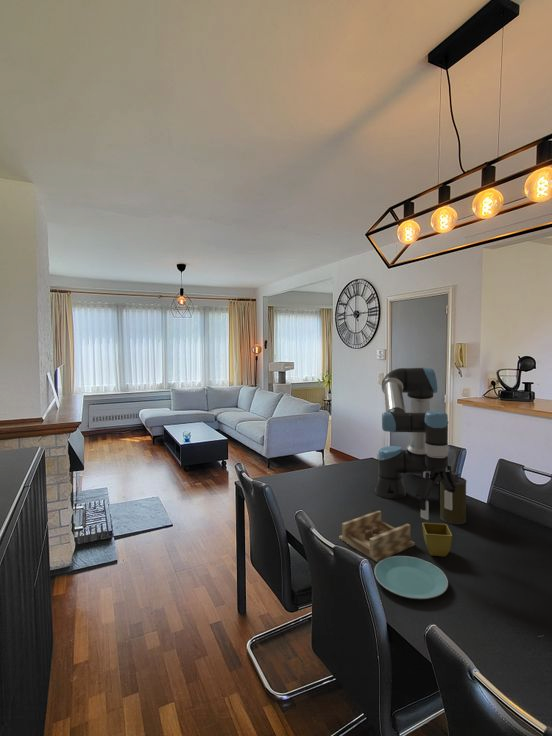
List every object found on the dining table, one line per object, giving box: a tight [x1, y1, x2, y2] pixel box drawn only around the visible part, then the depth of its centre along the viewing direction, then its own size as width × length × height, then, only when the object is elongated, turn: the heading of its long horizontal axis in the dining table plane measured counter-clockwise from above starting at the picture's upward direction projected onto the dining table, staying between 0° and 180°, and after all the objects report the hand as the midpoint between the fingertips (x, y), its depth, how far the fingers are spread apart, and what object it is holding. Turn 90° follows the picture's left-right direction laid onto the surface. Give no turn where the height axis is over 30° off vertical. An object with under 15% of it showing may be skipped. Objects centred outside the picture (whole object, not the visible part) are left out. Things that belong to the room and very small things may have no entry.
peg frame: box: [338, 510, 416, 563], centre depth 149 cm, size 20×20×7 cm
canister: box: [438, 471, 467, 525], centre depth 166 cm, size 11×10×20 cm
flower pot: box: [421, 522, 453, 557], centre depth 140 cm, size 9×9×9 cm
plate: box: [373, 555, 449, 600], centre depth 123 cm, size 22×22×3 cm
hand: (436, 513), depth 139 cm, fingers open, 13 cm apart
